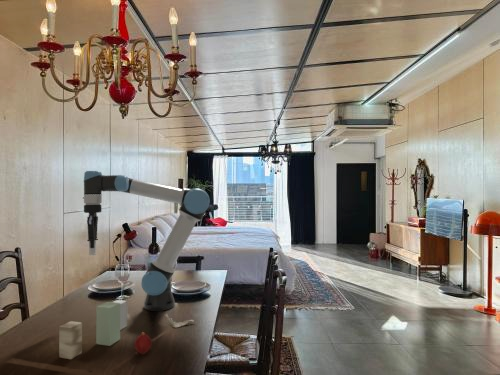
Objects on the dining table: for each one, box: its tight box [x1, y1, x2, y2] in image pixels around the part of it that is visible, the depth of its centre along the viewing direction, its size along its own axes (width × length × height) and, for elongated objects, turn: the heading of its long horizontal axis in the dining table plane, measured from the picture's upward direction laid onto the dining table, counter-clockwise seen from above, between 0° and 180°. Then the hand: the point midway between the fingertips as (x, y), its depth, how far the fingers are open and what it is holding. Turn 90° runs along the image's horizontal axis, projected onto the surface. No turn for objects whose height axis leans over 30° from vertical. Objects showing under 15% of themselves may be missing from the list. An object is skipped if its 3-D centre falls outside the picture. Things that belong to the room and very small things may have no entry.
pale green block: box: [95, 301, 121, 347], centre depth 135 cm, size 6×6×14 cm
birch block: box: [58, 320, 83, 360], centre depth 123 cm, size 5×5×12 cm
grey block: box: [113, 299, 128, 331], centre depth 149 cm, size 5×5×12 cm
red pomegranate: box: [134, 331, 153, 356], centre depth 127 cm, size 6×6×8 cm
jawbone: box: [163, 313, 196, 329], centre depth 158 cm, size 9×20×2 cm, turn 54°
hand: (92, 254), depth 164 cm, fingers closed
